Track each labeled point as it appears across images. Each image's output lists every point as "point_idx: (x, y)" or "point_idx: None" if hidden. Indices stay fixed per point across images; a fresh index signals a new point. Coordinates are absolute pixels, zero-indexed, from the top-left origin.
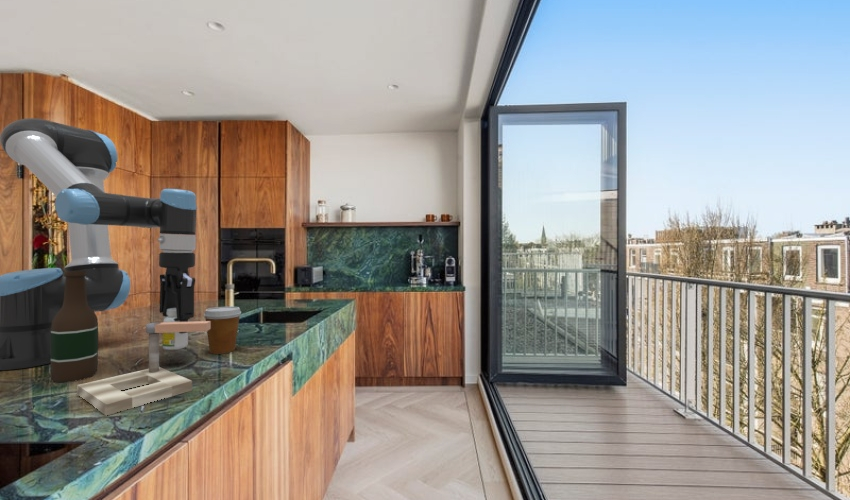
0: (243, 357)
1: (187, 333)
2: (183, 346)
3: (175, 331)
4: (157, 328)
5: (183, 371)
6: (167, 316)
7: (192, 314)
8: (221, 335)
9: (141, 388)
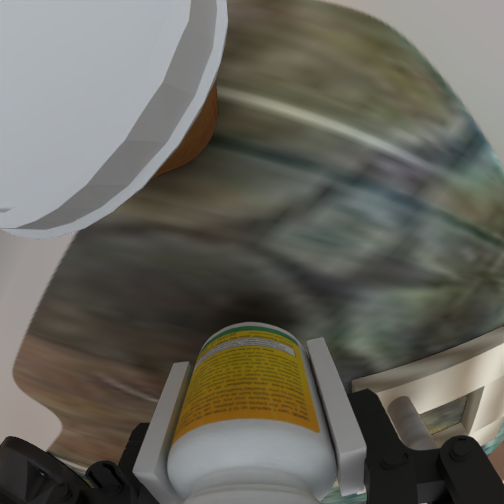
0: (349, 81)
1: (339, 377)
2: (302, 347)
3: None
4: None
5: (373, 318)
6: (158, 501)
7: (478, 454)
8: (208, 118)
9: (485, 411)
